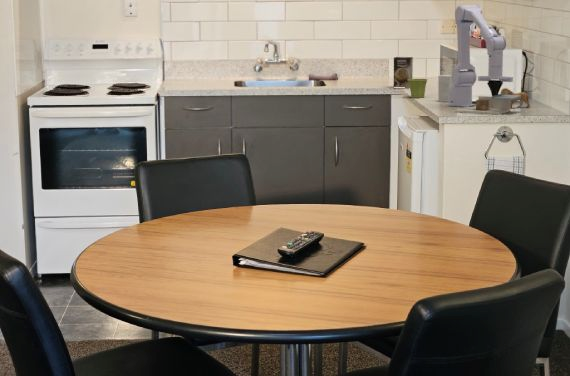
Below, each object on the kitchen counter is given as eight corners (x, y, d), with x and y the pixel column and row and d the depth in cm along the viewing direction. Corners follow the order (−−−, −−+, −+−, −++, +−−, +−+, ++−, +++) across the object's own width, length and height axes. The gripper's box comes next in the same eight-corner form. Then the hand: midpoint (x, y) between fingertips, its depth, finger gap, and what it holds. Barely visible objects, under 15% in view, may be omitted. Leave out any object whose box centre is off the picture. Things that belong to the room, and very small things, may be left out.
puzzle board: (454, 112, 406) (454, 98, 405) (466, 108, 416) (466, 95, 415) (499, 114, 395) (499, 100, 394) (510, 111, 405) (510, 97, 403)
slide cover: (492, 99, 396) (492, 95, 396) (502, 96, 405) (502, 93, 405) (511, 100, 392) (511, 96, 392) (521, 97, 401) (521, 94, 400)
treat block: (475, 112, 405) (476, 100, 404) (479, 110, 408) (479, 99, 407) (484, 112, 403) (485, 100, 402) (488, 111, 406) (488, 99, 405)
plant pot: (404, 97, 463) (404, 79, 461) (421, 96, 467) (421, 78, 465) (413, 99, 455) (413, 80, 453) (431, 97, 458) (431, 79, 456)
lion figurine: (504, 109, 409) (504, 88, 407) (497, 108, 414) (497, 87, 412) (533, 107, 414) (534, 86, 412) (526, 106, 419) (526, 85, 417)
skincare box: (454, 101, 442) (454, 75, 440) (449, 102, 439) (449, 76, 437) (442, 100, 446) (443, 74, 444) (437, 101, 443) (438, 75, 441)
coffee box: (393, 88, 502) (393, 57, 498) (395, 87, 508) (395, 56, 504) (410, 88, 499) (410, 57, 495) (412, 87, 505) (412, 56, 501)
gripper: (475, 66, 399) (474, 99, 402) (508, 67, 391) (507, 100, 394) (482, 65, 405) (481, 97, 408) (515, 65, 397) (514, 98, 400)
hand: (494, 98), depth 401 cm, fingers closed
